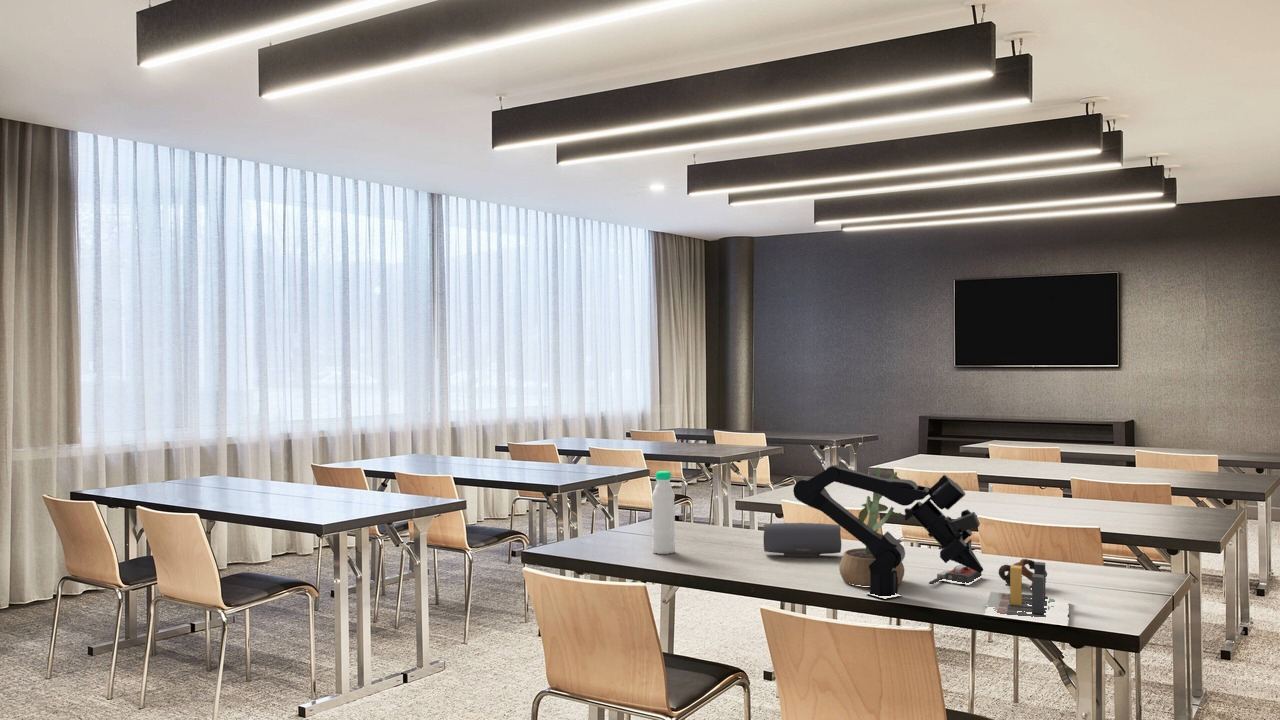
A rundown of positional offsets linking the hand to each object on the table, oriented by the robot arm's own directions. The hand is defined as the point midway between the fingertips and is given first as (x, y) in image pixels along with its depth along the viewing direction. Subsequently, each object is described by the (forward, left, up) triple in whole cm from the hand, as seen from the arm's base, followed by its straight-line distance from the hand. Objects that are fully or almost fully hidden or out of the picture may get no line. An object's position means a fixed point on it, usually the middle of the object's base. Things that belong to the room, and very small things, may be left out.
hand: (982, 571), depth 225 cm
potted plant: (-2, +33, -9) cm, 34 cm away
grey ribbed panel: (+6, -9, -8) cm, 13 cm away
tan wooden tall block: (+4, -6, -7) cm, 10 cm away
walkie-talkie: (+15, +20, -9) cm, 26 cm away
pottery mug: (+24, +7, -9) cm, 26 cm away
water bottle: (-30, +94, -9) cm, 99 cm away
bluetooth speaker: (+2, +67, -9) cm, 67 cm away
